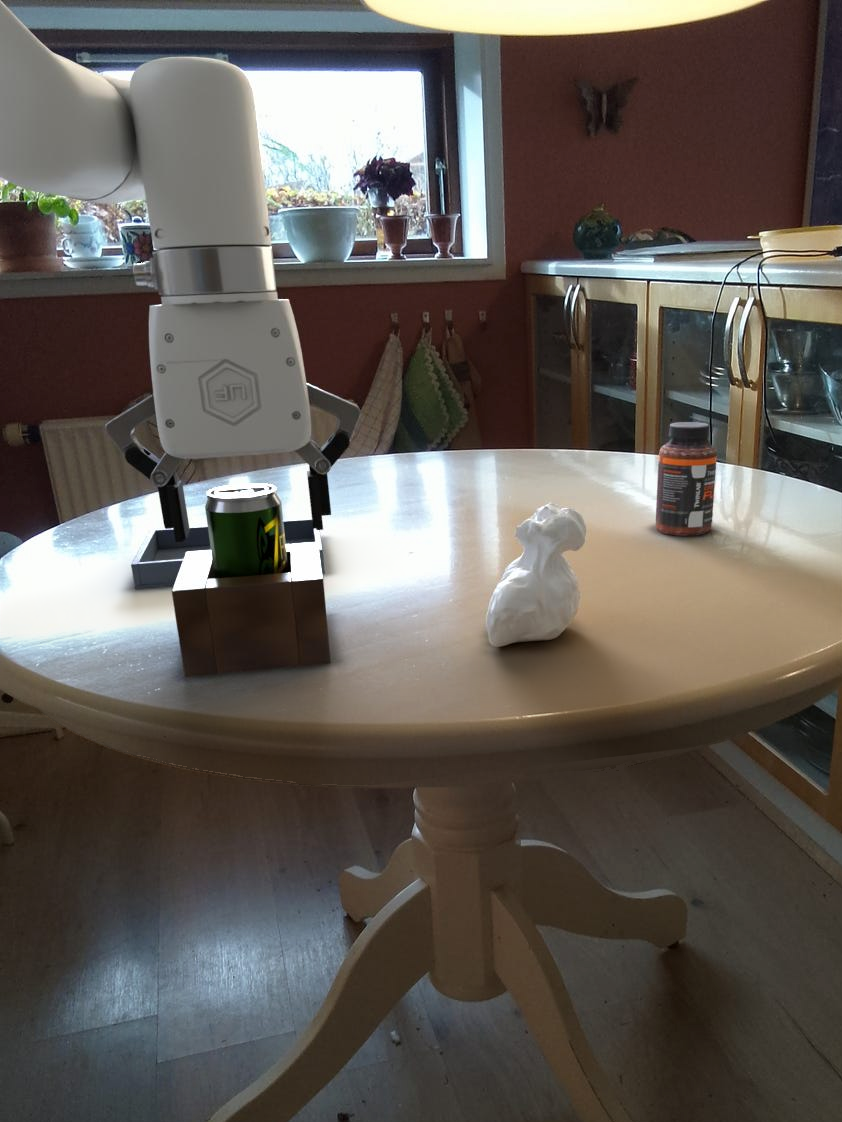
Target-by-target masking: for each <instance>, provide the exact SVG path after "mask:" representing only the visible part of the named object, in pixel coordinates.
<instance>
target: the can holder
mask: <svg viewBox="0 0 842 1122" xmlns="http://www.w3.org/2000/svg"><path fill="white" fill-rule="evenodd" d="M286 552H287V561H288V571H289V573H279V574H267V575H254V576H242V577H230V578H217V579H215V576H214V568H213V561H212V554H211V550H205V551H192V552H186V554H185V556H184V559H183V562H182V565H181V567H180V570H179V573H178V576H177V578H176V581H175V584H174V586H172V589H171V597H172V602H173V603H172V604H173V610H174V616H175V623H176V630H177V637H178V642H179V643H178V644H179V648H180V655H181V663H182V669H183V674H184V675H183V676H184V677H185V678H187V677H199V676H208V675H209V676H210V675H219V674H228V673H241V672H250V671H260V670H261V671H262V670H269V669H271V670H272V669H280V668H290V667H291V668H292V667H299V666H300V667H301V666H312V665H320V664H321V665H322V664H330V663H331V661H332V660H331V650H330V639H329V637H330V636H329V626H328V615H327V605H326V595H325V583H324V582H325V581H324V574H322V567H321V559H320V552H319V545H318V542H312V543H299V544H286Z"/></svg>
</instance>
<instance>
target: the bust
mask: <svg viewBox="0 0 842 1122" xmlns="http://www.w3.org/2000/svg"><path fill="white" fill-rule="evenodd" d="M585 522H586V521H585V519H584V517H583V515H582V513H580V512H579V511H578V510H576V509H575V508H573V507H564V508H563V507H560V504H558V503H556V504H555V503H554V502H552V501H550V502H549V503H548V504H546V505H543V506H540V507H537V509H536V510H535V513H533V514H532V516H530V517H528V519H524V521H523V522H522V523H521V524H520V525H517V526H516V528H515V533H514V537H515V538H516V539H517V541H518V543H519V544H520V545H521V546H522V548H523V552H522V554H521V555H520V556H519V557H518V558H516V559H515V560H513V561H512V562H511V563H509V565H508V566H507V567H505V570H504V572H503V575H502V578H501V579H500V581H499V582H498V583H497V585H496V588H495V589H494V591H493V593H492V595H491V598H490V601H489V604H488V608H487V613H486V616H485V627H486V632H487V635H488V642H489V643H490V645H491V646H493V647H495V648H500V647H504V646H508V645H511V644H514V643H525V642H537V641H550V640H551V641H552V640H554V639H556V638H557V637H559V636H560V635H561V634H562V633H563V632H564V631H565V630H567V627H568V626H570V625H571V624H572V622H573V621H574V620H575V617H576V615H577V613H578V611H579V605H580V599H581V592H580V591H581V590H580V589H579V581H578V577H577V575H576V573H575V571H573V569H572V565H571V564H570V561H569V560H568V558H567V557H566V556H565V555H564V554H563V553H565V552H567V551H568V552H569V551H573V552H577V551H579V550H580V549H581V548H583V546H584V544H585V543H586V535H587V525H586V523H585Z"/></svg>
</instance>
